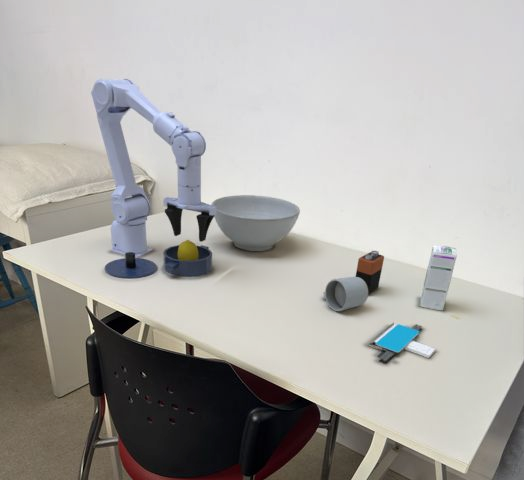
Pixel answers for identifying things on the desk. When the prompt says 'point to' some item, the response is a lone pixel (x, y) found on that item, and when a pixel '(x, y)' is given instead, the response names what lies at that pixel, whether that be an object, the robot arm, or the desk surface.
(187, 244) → the lemon
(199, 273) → the pot
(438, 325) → the desk surface
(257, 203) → the decorative bowl
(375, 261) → the battery
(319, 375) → the desk surface
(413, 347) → the blue flat gadget
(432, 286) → the syrup box
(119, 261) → the pot lid
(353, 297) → the ceramic mug
